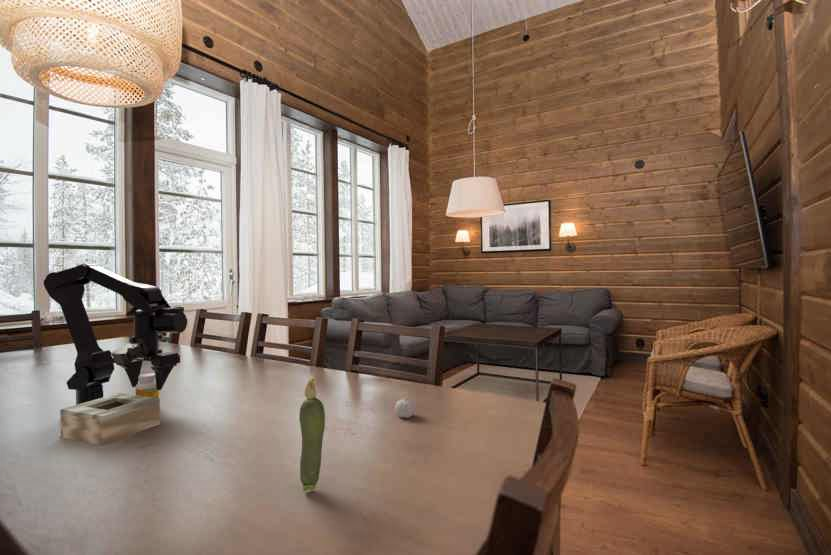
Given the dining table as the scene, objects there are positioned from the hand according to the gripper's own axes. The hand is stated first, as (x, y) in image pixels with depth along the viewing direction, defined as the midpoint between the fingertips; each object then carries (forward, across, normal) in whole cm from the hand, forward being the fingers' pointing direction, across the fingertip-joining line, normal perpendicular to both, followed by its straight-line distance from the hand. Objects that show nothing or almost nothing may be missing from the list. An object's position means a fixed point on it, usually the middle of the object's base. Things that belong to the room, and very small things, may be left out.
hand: (146, 388), depth 119 cm
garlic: (+6, +69, +19) cm, 72 cm away
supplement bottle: (+6, 0, 0) cm, 6 cm away
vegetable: (+6, +67, -22) cm, 71 cm away
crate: (+6, +6, -14) cm, 16 cm away
